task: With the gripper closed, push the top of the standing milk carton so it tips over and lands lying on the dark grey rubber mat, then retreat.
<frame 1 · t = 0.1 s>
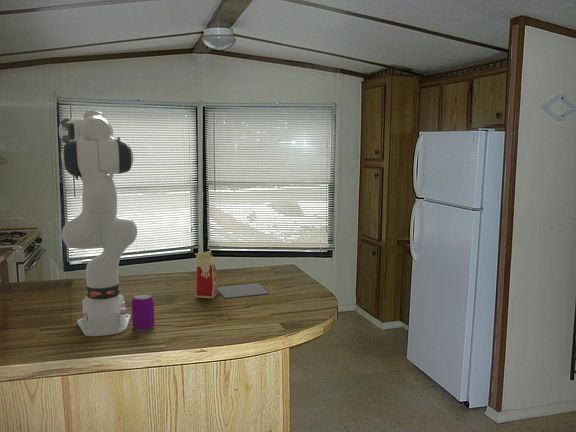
hand: (96, 185, 217), 48 cm above the counter, tool pointing down, fingers open, 8 cm apart
mat: (242, 291, 235), on the counter
beverage can: (143, 328, 190), on the counter
milk carton: (205, 295, 229), on the counter
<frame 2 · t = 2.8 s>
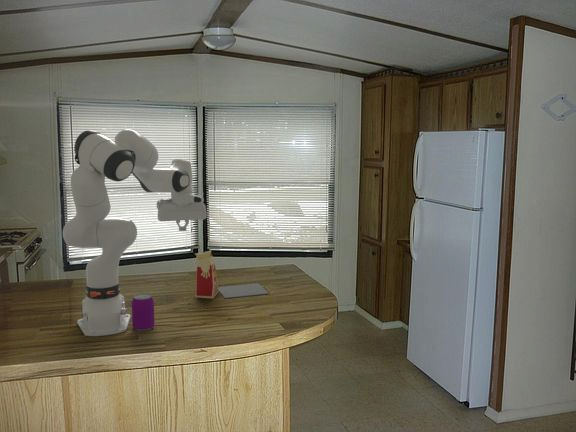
hand: (182, 230, 221), 29 cm above the counter, tool pointing down, fingers closed
nothing on the counter moved.
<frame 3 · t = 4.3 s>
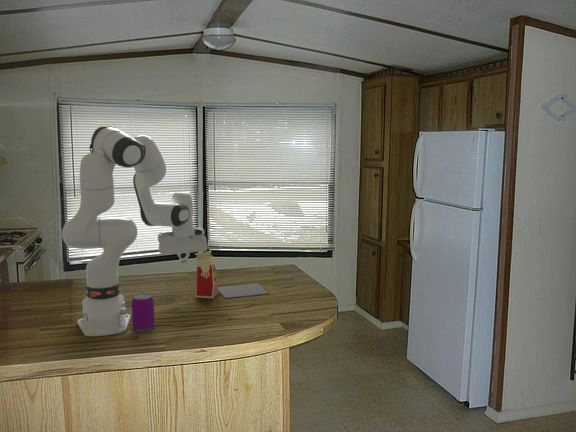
hand: (183, 262, 223), 15 cm above the counter, tool pointing down, fingers closed
nothing on the counter moved.
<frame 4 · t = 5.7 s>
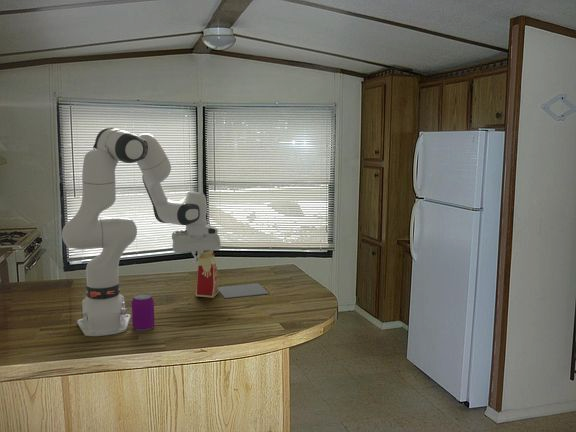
hand: (196, 260, 225), 15 cm above the counter, tool pointing down, fingers closed, pressing on milk carton
milk carton: (205, 294, 229), on the counter, touching gripper
everything else where it was.
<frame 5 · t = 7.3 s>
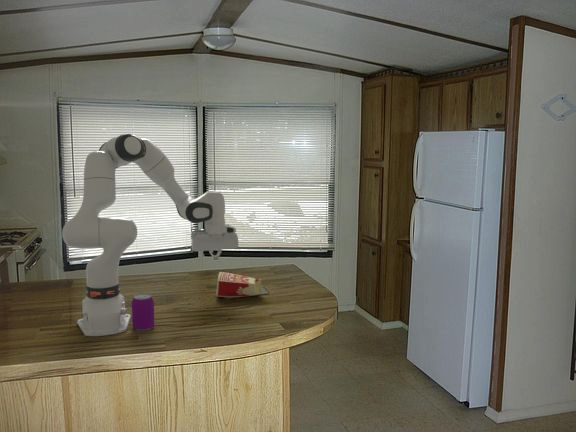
hand: (215, 259, 228), 15 cm above the counter, tool pointing down, fingers closed
milk carton: (217, 283, 226), point 6 cm above the counter, touching mat
everything else where it was.
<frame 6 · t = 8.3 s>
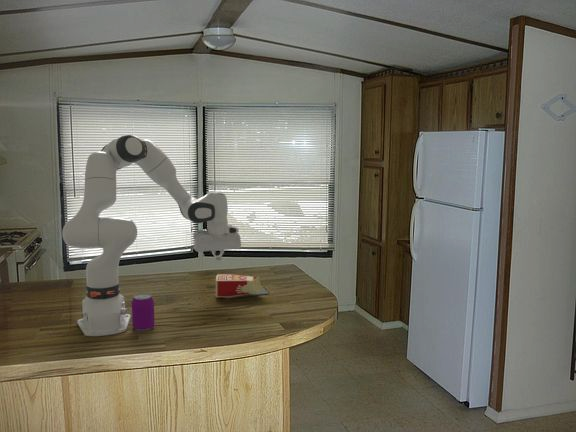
hand: (217, 260, 228), 15 cm above the counter, tool pointing down, fingers closed
milk carton: (216, 284, 227), point 5 cm above the counter, touching mat
everything else where it was.
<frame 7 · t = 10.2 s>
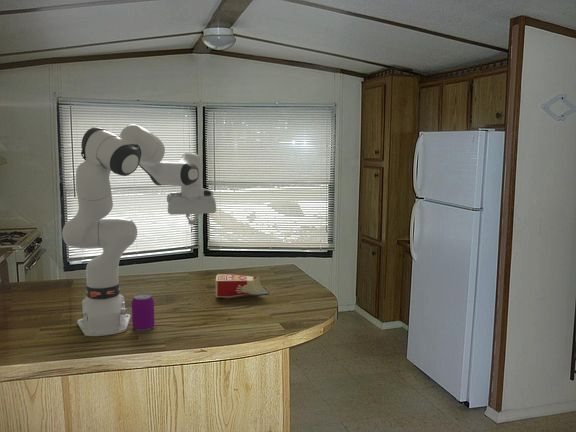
hand: (192, 224, 223), 31 cm above the counter, tool pointing down, fingers closed
nothing on the counter moved.
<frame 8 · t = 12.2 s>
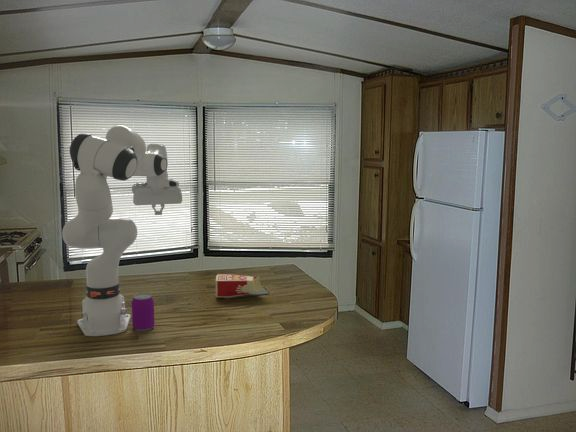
hand: (158, 214, 223), 35 cm above the counter, tool pointing down, fingers closed
nothing on the counter moved.
at the end: milk carton tilted 90°; milk carton inside the target area (10.4 cm from its centre), point 4.9 cm above the counter; the gripper is holding nothing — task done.
